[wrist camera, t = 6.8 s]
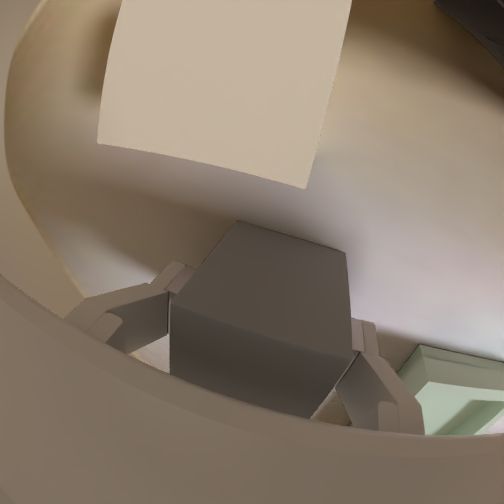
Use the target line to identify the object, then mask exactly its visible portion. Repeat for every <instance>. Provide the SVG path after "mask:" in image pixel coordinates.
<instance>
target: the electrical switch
mask: <svg viewBox="0 0 504 504" xmlns="http://www.w3.org/2000/svg"><path fill="white" fill-rule="evenodd" d="M435 1H436V0H435ZM435 1H434V2H435ZM467 1H468V3H467ZM435 4H436V5H437V6H439V7H440V8H441V9H443V10H444V11H445V12H446V13H448V14H449V15H450V16H451V17H453V18H454V19H455V20H456V21H457V22H459V23H460V24H461V25H462V26H463V27H464V28H465V29H467V30H468V31H469V32H470V33H471V34H472V35H473V36H474V37H475V38H476V39H477V40H478V41H480V42H481V43H482V44H483V45H484V46H485V47H486V48H487V49H488V50H489V51H490V53H491V54H492V55H493V56H494V57H495V58H496V59H497V60H498V61H499V62H500V63H501V64H502V65H503V67H504V0H437V1H436V2H435ZM486 37H488V38H489V39H490V40H488V39H487V38H486Z"/></svg>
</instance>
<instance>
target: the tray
mask: <svg viewBox="0 0 504 504" xmlns="http://www.w3.org/2000/svg"><path fill="white" fill-rule="evenodd" d="M397 375H398V376H399V378H400V379H401V380H402V381H403V383H404V384H405V385H406V387H407V388H408V389H409V390H410V392H411V393H412V394H413V396H414V397H415V398H416V399H417V401H418V402H419V403H420V405H421V407H422V413H423V420H424V428H425V435H481V434H482V433H483V432H484V431H486V430H487V429H488V428H489V427H490V426H492V425H493V424H494V423H495V422H496V421H497V420H498V419H500V418H501V417H502V416H503V415H504V362H499V361H494V360H488V359H483V358H479V357H474V356H469V355H464V354H460V353H455V352H451V351H446V350H442V349H437V348H433V347H429V346H425V345H420V344H419V345H418V347H417V348H416V349H415V351H414V352H413V353H412V355H411V356H410V357H409V359H408V360H407V361H406V363H405V364H404V365H403V366H402V368H401V369H400V370H399V371H398V372H397ZM348 427H354V426H353V424H352V423H351V424H350V425H349V426H348Z"/></svg>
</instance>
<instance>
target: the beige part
mask: <svg viewBox="0 0 504 504" xmlns="http://www.w3.org/2000/svg"><path fill="white" fill-rule="evenodd" d="M351 3H352V0H123V1H122V4H121V8H120V11H119V15H118V18H117V22H116V26H115V30H114V34H113V38H112V42H111V47H110V51H109V56H108V61H107V66H106V72H105V78H104V84H103V90H102V97H101V105H100V114H99V124H98V135H97V143H98V144H104V145H111V146H118V147H124V148H130V149H136V150H141V151H147V152H153V153H158V154H163V155H168V156H173V157H178V158H183V159H188V160H192V161H197V162H202V163H206V164H210V165H215V166H219V167H223V168H227V169H232V170H236V171H240V172H244V173H247V174H251V175H255V176H259V177H263V178H267V179H270V180H274V181H277V182H281V183H285V184H288V185H292V186H295V187H298V188H302V189H305V190H306V186H307V183H308V179H309V176H310V172H311V168H312V165H313V161H314V157H315V154H316V150H317V146H318V143H319V139H320V135H321V131H322V127H323V124H324V120H325V116H326V112H327V108H328V104H329V100H330V96H331V92H332V88H333V84H334V80H335V75H336V71H337V67H338V63H339V58H340V54H341V50H342V45H343V41H344V36H345V32H346V27H347V22H348V18H349V13H350V8H351Z"/></svg>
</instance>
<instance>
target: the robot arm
mask: <svg viewBox="0 0 504 504" xmlns="http://www.w3.org/2000/svg"><path fill="white" fill-rule="evenodd" d="M196 270H197V269H196V268H193V267H190V266H187V265H185V264H182V263H179V262H176V261H173V262H171V263H170V264H169V265H168V266H167V267H166V268H165V269H164V270H163V271H162V272H161V273H160V274H159V275H158V276H157V277H156V278H155V279H154V280H153V281H152V282H151V283H150V284H148V283H143V284H140V285H136V286H132V287H128V288H124V289H120V290H116V291H113V292H109V293H105V294H101V295H97V296H93V297H89V298H85V299H84V300H83V301H82V302H81V303H80V304H79V305H78V306H76V307H75V308H74V309H73V310H72V311H71V312H70V313H69V314H68V315H67V316H66V317H65V318H64V319H63V318H61V317H60V316H58V315H57V314H55V313H53V312H52V311H50V310H49V309H47V308H46V307H44V306H43V305H42V304H40V303H39V302H37V301H36V300H34V299H33V298H31V297H30V296H28V295H27V294H26V293H24V292H23V291H22V290H20V289H19V288H18V287H16V286H15V285H14V284H12V283H11V282H10V281H8V280H7V279H5V277H3V276H2V275H1V274H0V504H504V433H497V434H483V435H425V428H424V420H423V413H422V407H421V405H420V403H419V402H418V401H417V399H416V398H415V397H414V396H413V394H412V393H411V392H410V390H409V389H408V388H407V387H406V385H405V384H404V383H403V381H402V380H401V379H400V378H399V376H398V375H397V374H396V373H395V371H394V370H393V369H392V367H391V366H390V365H389V364H388V362H387V361H386V360H385V359H384V357H380V355H379V348H378V341H377V334H376V328H375V324H374V323H373V322H369V321H365V320H359V319H355V318H351V326H352V351H353V360H352V362H351V363H350V364H349V366H348V367H347V369H346V370H345V372H344V373H343V375H342V376H341V378H340V379H339V380H338V382H337V383H336V385H335V386H334V387H336V388H335V389H336V391H337V393H338V395H339V397H340V399H341V401H342V403H343V405H344V407H345V409H346V412H347V414H348V416H349V418H350V420H351V422H352V424H353V426H354V427H348V426H342V425H337V424H331V423H326V422H321V421H316V420H312V419H307V418H303V417H299V416H294V415H290V414H286V413H282V412H279V411H275V410H271V409H268V408H264V407H261V406H257V405H254V404H250V403H247V402H244V401H241V400H238V399H235V398H232V397H229V396H226V395H223V394H220V393H217V392H214V391H211V390H209V389H206V388H203V387H201V386H198V385H195V384H193V383H190V382H188V381H185V380H183V379H180V378H178V377H176V376H173V375H171V374H168V373H166V372H164V371H161V370H159V369H157V368H155V367H153V366H150V365H148V364H146V363H144V362H142V361H140V360H138V359H135V358H133V357H131V356H129V355H127V354H129V353H131V352H133V351H135V350H137V349H139V348H141V347H144V346H146V345H148V344H150V343H152V342H154V341H156V340H158V339H160V338H162V337H164V336H166V335H167V334H170V303H171V302H172V300H173V299H174V298H175V296H176V295H177V294H178V293H179V291H180V290H181V289H182V288H183V286H184V285H185V284H186V283H187V281H188V280H189V279H190V277H191V276H192V275H193V274H194V272H195V271H196Z"/></svg>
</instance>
